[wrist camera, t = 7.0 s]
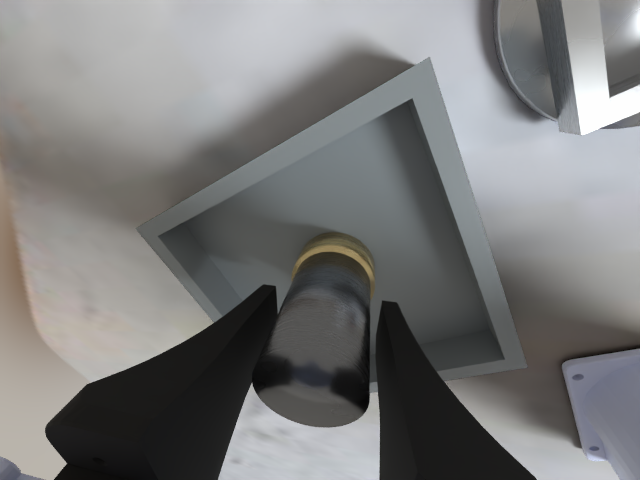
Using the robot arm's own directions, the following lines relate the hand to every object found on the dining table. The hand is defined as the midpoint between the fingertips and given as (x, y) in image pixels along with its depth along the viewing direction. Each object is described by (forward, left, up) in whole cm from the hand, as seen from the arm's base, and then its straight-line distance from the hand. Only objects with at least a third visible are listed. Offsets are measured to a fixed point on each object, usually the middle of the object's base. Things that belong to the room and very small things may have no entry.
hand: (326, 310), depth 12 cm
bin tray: (0, 0, -3) cm, 3 cm away
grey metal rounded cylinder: (0, 0, -3) cm, 3 cm away
